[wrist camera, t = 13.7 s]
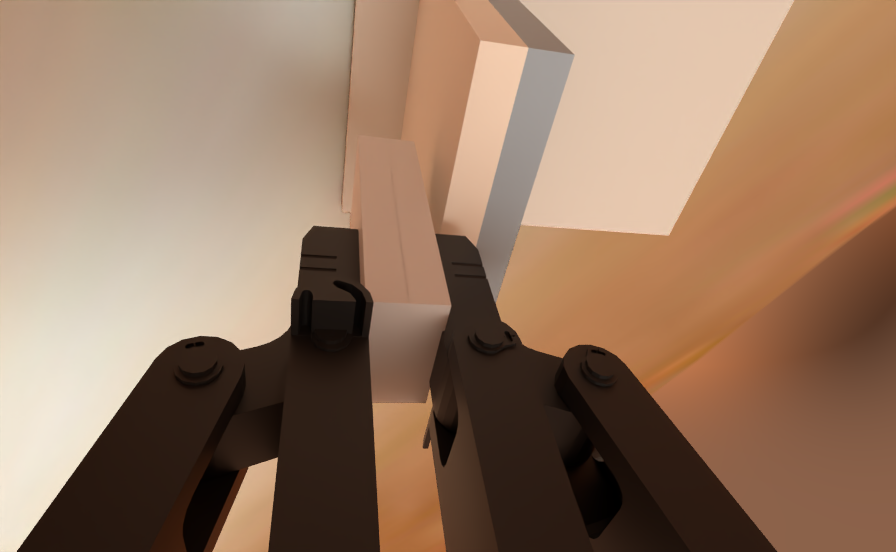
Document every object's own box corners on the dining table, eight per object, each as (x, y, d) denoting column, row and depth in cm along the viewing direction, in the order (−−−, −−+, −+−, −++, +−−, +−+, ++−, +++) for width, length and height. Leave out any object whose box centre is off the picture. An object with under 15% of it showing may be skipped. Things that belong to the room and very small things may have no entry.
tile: (425, -44, 17) (480, 40, 10) (484, -33, 18) (575, 54, 11) (390, 216, 23) (410, 376, 16) (435, 219, 24) (472, 376, 17)
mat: (362, -98, 16) (362, -96, 16) (787, -10, 20) (797, -7, 20) (341, 204, 23) (341, 212, 23) (662, 228, 27) (668, 235, 26)
